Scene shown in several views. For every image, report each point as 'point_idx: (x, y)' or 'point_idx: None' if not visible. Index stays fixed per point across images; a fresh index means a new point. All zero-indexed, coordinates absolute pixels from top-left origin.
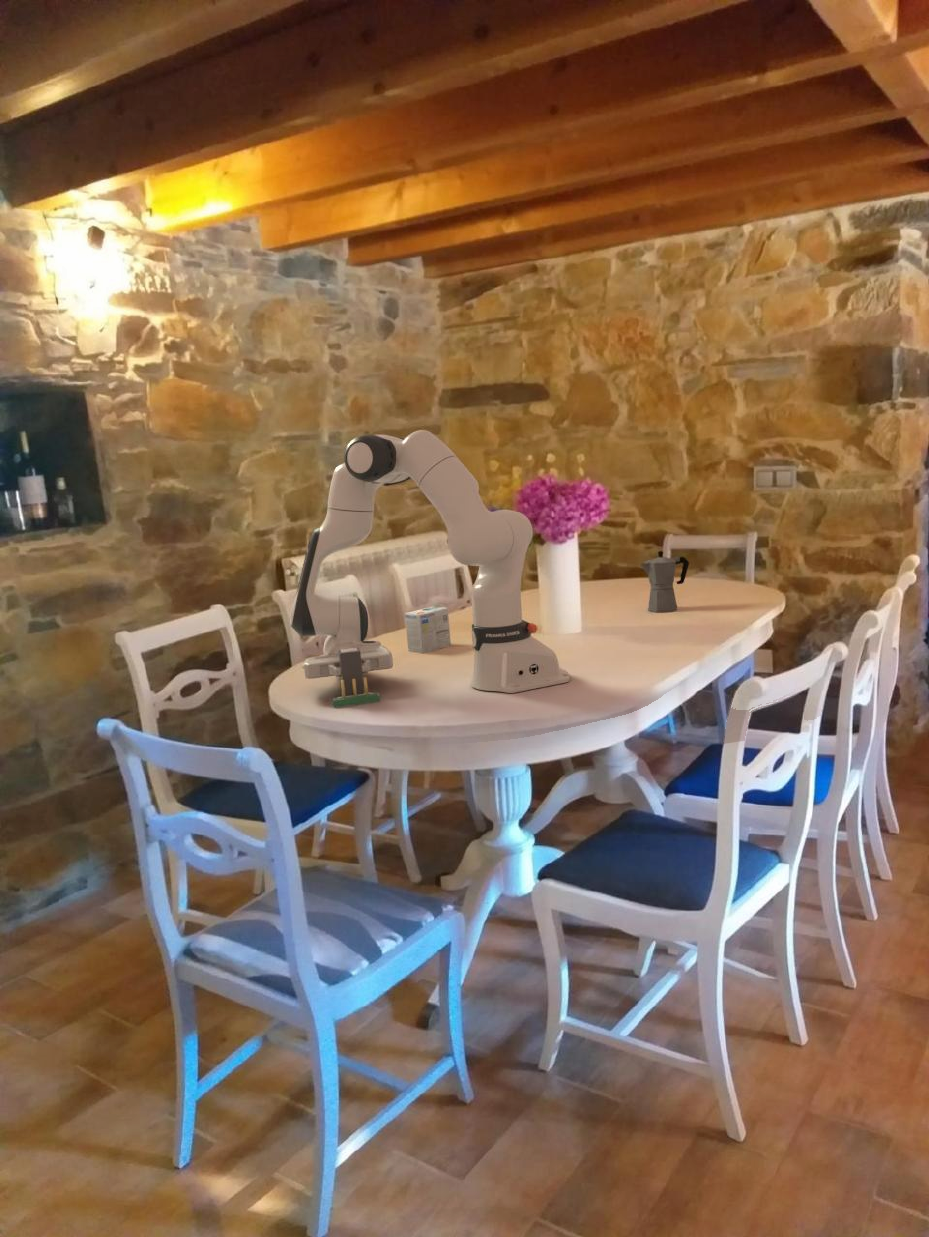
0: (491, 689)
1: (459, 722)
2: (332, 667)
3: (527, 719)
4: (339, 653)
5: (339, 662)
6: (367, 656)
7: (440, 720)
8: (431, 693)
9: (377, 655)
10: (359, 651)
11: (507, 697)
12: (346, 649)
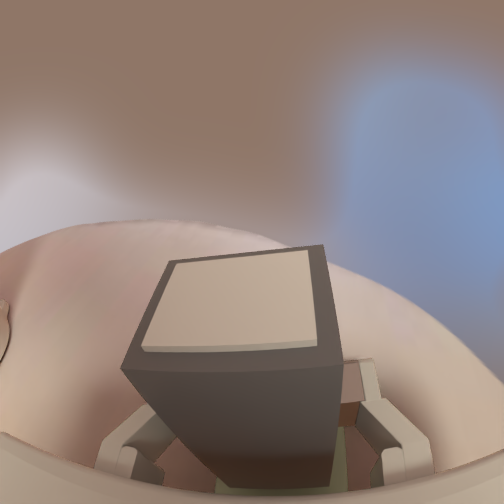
0: (7, 322)
1: (146, 226)
2: (393, 405)
3: (88, 224)
4: (328, 273)
5: (337, 424)
6: (86, 473)
7: (160, 236)
8: (59, 382)
9: (37, 451)
10: (174, 260)
11: (25, 294)
12: (251, 314)
